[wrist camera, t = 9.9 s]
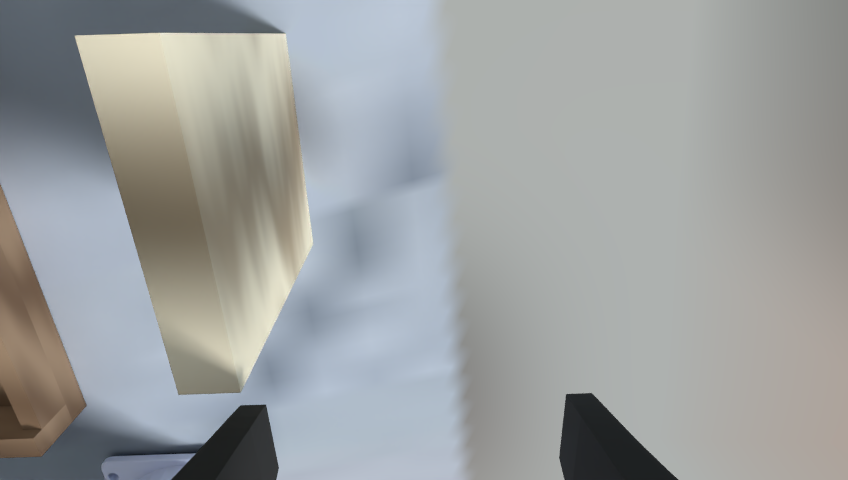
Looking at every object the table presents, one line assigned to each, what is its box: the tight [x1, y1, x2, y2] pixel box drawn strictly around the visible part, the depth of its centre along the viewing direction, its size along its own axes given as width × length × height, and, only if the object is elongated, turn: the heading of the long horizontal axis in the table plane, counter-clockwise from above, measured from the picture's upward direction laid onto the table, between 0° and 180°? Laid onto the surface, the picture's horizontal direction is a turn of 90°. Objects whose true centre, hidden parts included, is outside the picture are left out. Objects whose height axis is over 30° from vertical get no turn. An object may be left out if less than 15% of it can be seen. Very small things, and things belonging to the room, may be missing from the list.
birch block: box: [75, 33, 313, 395], centre depth 14 cm, size 8×2×9 cm, turn 2°
